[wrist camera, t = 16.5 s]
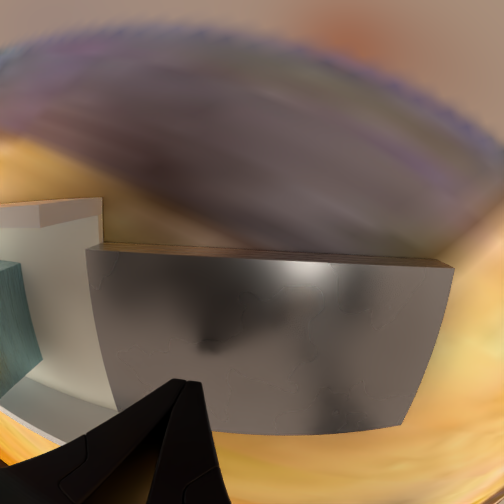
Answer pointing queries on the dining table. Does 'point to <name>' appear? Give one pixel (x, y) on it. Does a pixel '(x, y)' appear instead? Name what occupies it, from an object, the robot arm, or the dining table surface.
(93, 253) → the panel
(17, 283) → the clip
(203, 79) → the dining table surface
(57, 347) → the well tray
